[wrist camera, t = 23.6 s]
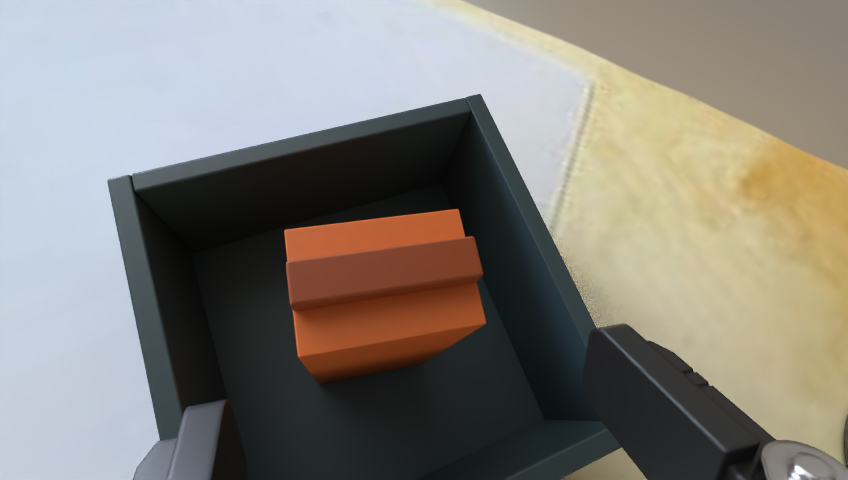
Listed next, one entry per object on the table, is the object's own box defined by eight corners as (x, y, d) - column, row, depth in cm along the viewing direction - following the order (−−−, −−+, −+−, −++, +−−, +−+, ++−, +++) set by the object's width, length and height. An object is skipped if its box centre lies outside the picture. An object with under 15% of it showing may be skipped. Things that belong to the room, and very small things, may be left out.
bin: (445, 174, 28) (480, 93, 21) (557, 427, 24) (649, 433, 17) (176, 249, 24) (105, 178, 17) (254, 573, 20) (204, 664, 13)
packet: (409, 295, 24) (465, 196, 13) (422, 364, 23) (496, 318, 12) (309, 311, 23) (280, 217, 12) (318, 384, 22) (294, 354, 11)
